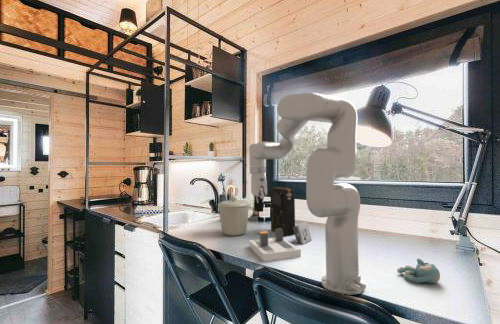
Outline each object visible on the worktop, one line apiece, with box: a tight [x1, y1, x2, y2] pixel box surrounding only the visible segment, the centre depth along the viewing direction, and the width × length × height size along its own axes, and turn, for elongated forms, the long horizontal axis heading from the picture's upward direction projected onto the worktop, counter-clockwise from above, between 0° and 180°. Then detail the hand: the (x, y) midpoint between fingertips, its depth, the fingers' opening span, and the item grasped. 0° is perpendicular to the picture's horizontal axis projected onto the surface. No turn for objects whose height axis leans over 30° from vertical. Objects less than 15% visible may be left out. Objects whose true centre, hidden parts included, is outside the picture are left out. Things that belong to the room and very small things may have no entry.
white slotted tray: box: [248, 237, 302, 263], centre depth 114 cm, size 20×16×3 cm
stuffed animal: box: [396, 258, 441, 284], centre depth 84 cm, size 11×7×12 cm
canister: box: [217, 195, 251, 237], centre depth 145 cm, size 18×18×21 cm
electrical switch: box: [293, 221, 312, 245], centre depth 128 cm, size 9×5×9 cm, turn 141°
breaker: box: [274, 228, 284, 241], centre depth 119 cm, size 2×3×5 cm, turn 107°
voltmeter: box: [269, 186, 296, 237], centre depth 145 cm, size 16×9×25 cm, turn 25°
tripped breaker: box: [259, 230, 269, 246], centre depth 112 cm, size 2×3×6 cm, turn 107°
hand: (258, 210), depth 118 cm, fingers closed
